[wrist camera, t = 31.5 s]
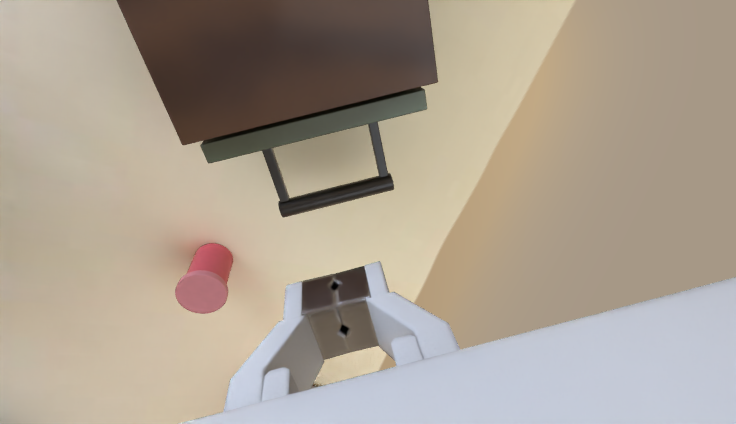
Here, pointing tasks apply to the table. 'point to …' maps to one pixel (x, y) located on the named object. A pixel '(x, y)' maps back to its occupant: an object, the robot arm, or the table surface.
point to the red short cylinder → (206, 280)
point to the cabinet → (277, 57)
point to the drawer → (314, 127)
